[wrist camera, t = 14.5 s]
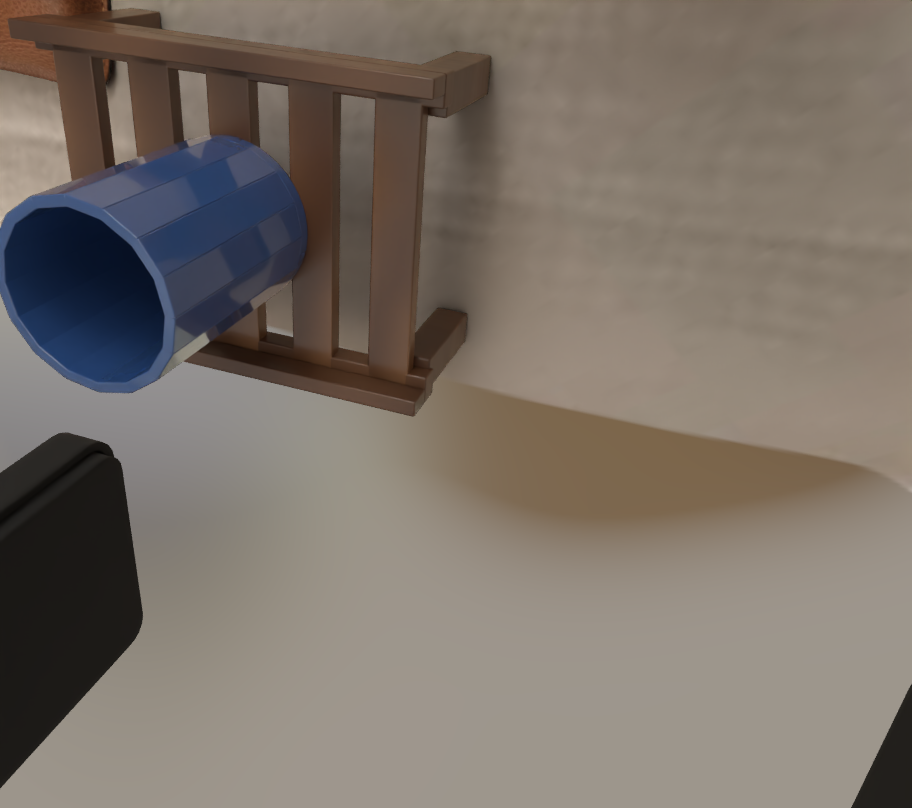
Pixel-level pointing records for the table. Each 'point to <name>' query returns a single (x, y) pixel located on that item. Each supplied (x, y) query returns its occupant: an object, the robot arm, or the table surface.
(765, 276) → the table surface
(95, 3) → the sunglasses case
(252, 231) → the cup
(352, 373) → the rack
